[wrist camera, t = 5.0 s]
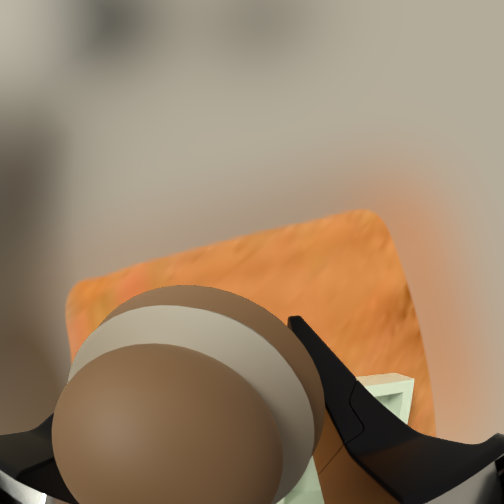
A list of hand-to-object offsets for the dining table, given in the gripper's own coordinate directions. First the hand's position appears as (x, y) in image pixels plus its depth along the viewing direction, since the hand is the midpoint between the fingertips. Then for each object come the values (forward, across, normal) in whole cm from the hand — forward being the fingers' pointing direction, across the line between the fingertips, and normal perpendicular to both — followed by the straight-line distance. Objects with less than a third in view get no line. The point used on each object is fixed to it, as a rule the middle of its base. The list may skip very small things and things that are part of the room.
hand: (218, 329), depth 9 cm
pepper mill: (+4, 0, +6) cm, 7 cm away
